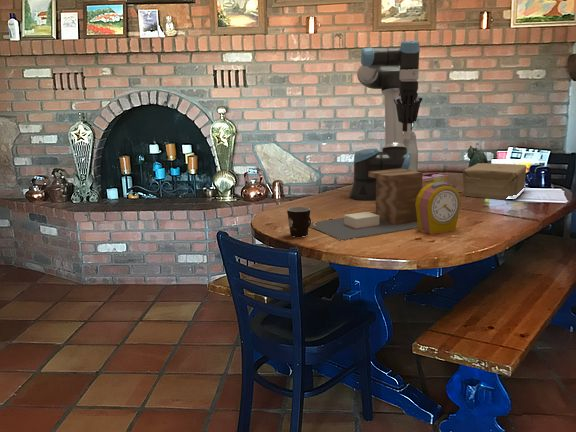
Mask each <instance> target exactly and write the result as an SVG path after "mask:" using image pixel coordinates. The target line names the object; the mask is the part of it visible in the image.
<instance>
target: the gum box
mask: <svg viewBox="0 0 576 432" xmlns="http://www.w3.org/2000/svg"><path fill="white" fill-rule="evenodd" d="M437 182H443V183H448V184H449V174H448V173H447V174H445V175H444V174H440V173H439V172H432V173H427V174H423V178H422V188H423V187H424V186H426V185H428V184H431V183H437Z"/></svg>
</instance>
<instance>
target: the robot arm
mask: <svg viewBox="0 0 576 432" xmlns="http://www.w3.org/2000/svg"><path fill="white" fill-rule="evenodd" d="M420 52H421V48H420V41H418V40H402V41H401V42H400V46H395V47H394V46H388V47H386V46H385V47H378V46H377V47H370V46H369V47H362V48H361V52H360V53H361V54H360V64H361V65H360V66H359V67H358V69H357V72H356V73H357V75H356V77H357V81H358V82H359V83H360V84H361V85H362V86H364V87H366V88H367V89H368V88H369V89H372V90H381V91H380V92H381V94H382V95H383V97H384V127H385V128H384V131H385V132H384V133H385V135H384V136H385V137H384V139H385V144H384V146H383V147H382V149H381V151H379V149H378V148H367V149H366V148H365V149H362V150H361V149H360V150H358V151H355V153H353V183H352V186H351V189H350V192H349V198H350V199H353V200H358V201H374V200H375V201H376V178H372V177H368V172H369V171H379V170H389V169H398V168H401V169H407V170H408V169H409V165H410V152H409V151H407V147H406V146H405V145H404V144H403V139H406V140H410V136H411V131H412V132H413V124H415V122H417V121H418V120H417V119H418V115H419V111H420V107H421V102H422V101H423V98H422V97H420V96H419V94H418V90H419V81H418V80H419V74H420V73H419V72H420V71H419V70H420ZM403 134H404V136H403Z"/></svg>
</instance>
